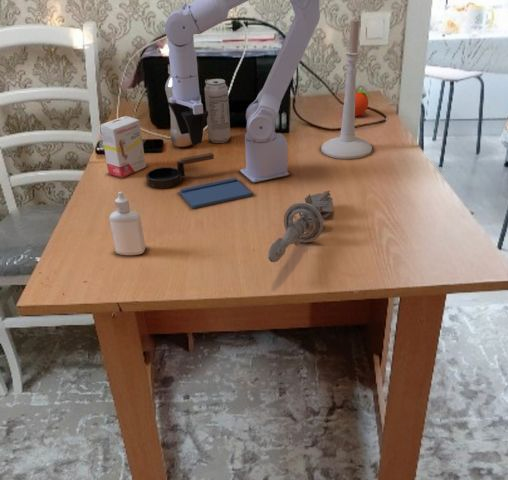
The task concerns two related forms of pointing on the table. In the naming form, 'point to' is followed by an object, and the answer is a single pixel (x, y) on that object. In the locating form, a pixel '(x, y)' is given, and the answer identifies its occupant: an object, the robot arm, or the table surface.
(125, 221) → the eye dropper bottle
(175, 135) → the plastic bottle
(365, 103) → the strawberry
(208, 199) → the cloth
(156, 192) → the table surface
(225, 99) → the energy drink can
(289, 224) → the spaceship
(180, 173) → the pan
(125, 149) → the ink box
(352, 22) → the candlestick
